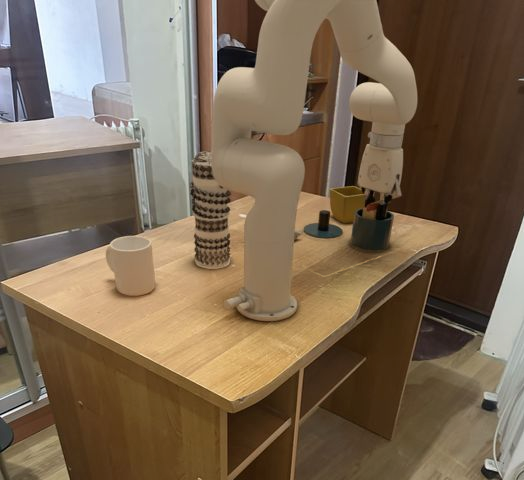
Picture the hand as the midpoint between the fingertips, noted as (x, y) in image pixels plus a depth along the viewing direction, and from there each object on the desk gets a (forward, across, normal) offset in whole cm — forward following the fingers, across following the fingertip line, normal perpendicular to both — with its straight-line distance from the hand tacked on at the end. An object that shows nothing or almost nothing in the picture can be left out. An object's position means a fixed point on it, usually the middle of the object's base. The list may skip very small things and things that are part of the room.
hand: (374, 215), depth 127 cm
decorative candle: (+8, -16, -40) cm, 44 cm away
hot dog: (+1, 0, 0) cm, 1 cm away
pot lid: (+7, -14, -4) cm, 16 cm away
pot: (+8, 0, 0) cm, 8 cm away
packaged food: (+8, -14, -20) cm, 26 cm away
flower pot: (+8, -16, +9) cm, 20 cm away
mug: (+8, -16, -62) cm, 65 cm away
